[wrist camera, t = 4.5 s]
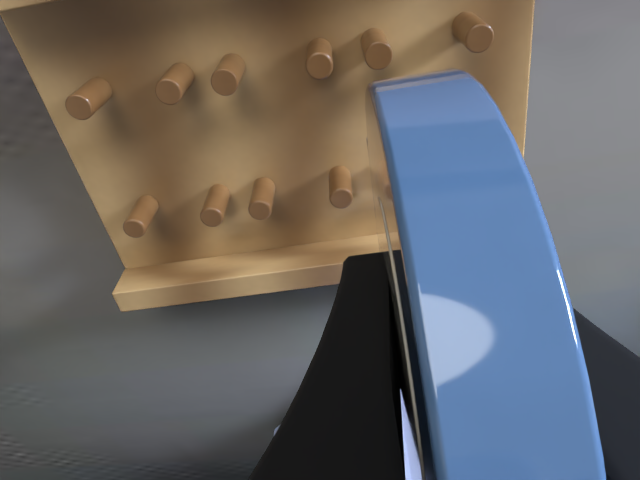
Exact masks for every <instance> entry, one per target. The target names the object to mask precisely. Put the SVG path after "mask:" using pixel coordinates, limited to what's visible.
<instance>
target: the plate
mask: <svg viewBox="0 0 640 480" xmlns="http://www.w3.org/2000/svg"><path fill="white" fill-rule="evenodd" d="M365 112H366V128H367V139H366V142H367V150H368V159H369V167H370V176H371V184H372V193H373V201H374V210H375V218H376V227H377V235H378V244H379V252H383V256H384V260H385V265H386V270H387V274H388V281H389V290H390V300H391V309H392V318H393V327H394V336H395V345H396V355H397V364H398V373H399V382H400V394H401V411H402V420H403V427H404V434H405V441H406V447H407V454H408V461H409V467H410V474H411V480H607V479H606V472H605V464H604V457H603V450H602V445H601V440H600V434H599V429H598V423H597V418H596V412H595V407H594V402H593V396H592V391H591V385H590V380H589V375H588V371H587V367H586V362H585V358H584V354H583V350H582V345H581V341H580V337H579V333H578V328H577V324H576V320H575V316H574V311H573V307H572V303H571V300H570V296H569V293H568V289H567V286H566V282H565V279H564V275H563V272H562V268H561V265H560V261H559V258H558V254H557V251H556V248H555V244H554V241H553V237H552V235H551V232H550V229H549V226H548V223H547V220H546V217H545V214H544V212H543V209H542V206H541V203H540V200H539V197H538V194H537V192H536V189H535V186H534V183H533V180H532V178H531V176H530V173H529V171H528V169H527V166H526V164H525V162H524V159H523V157H522V155H521V152H520V150H519V148H518V145H517V143H516V140H515V138H514V136H513V134H512V132H511V130H510V128H509V127H508V125H507V123H506V121H505V119H504V117H503V115H502V114H501V112H500V110H499V108H498V106H497V104H496V103H495V102H494V100H493V99H492V97H491V96H490V95H489V93H488V92H487V90H486V89H485V88H484V86H483V85H482V84H481V83H480V82H479V81H478V80H477V79H476V78H474V77H473V76H472V75H471V74H470V73H468V72H465V71H462V70H459V69H456V68H450V69H443V70H437V71H431V72H425V73H419V74H412V75H406V76H400V77H394V78H388V79H382V80H375V81H373V82H371V83H369V84H368V85H367V88H366V93H365Z"/></svg>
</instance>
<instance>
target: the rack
mask: <svg viewBox="0 0 640 480" xmlns="http://www.w3.org/2000/svg"><path fill="white" fill-rule="evenodd" d="M534 4H535V0H0V15H1V17H2V19H3V21H4V23H5V25H6V27H7V29H8V31H9V33H10V36H11V38H12V40H13V42H14V44H15V46H16V48H17V50H18V52H19V54H20V56H21V58H22V60H23V62H24V64H25V66H26V68H27V70H28V72H29V74H30V76H31V78H32V80H33V82H34V84H35V86H36V88H37V90H38V92H39V94H40V96H41V98H42V100H43V102H44V104H45V106H46V109H47V111H48V113H49V115H50V117H51V119H52V121H53V123H54V125H55V127H56V129H57V131H58V133H59V135H60V137H61V139H62V141H63V143H64V145H65V147H66V149H67V151H68V153H69V155H70V157H71V159H72V161H73V163H74V165H75V167H76V169H77V171H78V173H79V175H80V177H81V179H82V182H83V184H84V186H85V188H86V190H87V192H88V194H89V196H90V198H91V200H92V202H93V204H94V206H95V208H96V210H97V212H98V214H99V216H100V218H101V220H102V222H103V224H104V226H105V228H106V230H107V232H108V234H109V236H110V238H111V240H112V242H113V244H114V246H115V248H116V250H117V252H118V255H119V257H120V259H121V261H122V263H123V265H124V267H125V270H124V272H123V274H122V275H121V277H120V279H119V281H118V283H117V285H116V287H115V289H114V291H113V292H112V295H113V297H114V299H115V301H116V303H117V305H118V307H119V308H120V310H121V312H126V311H133V310H141V309H149V308H157V307H164V306H172V305H180V304H188V303H195V302H203V301H211V300H219V299H226V298H234V297H242V296H250V295H257V294H265V293H273V292H281V291H288V290H296V289H304V288H311V287H319V286H327V285H335V284H339V283H340V279H341V274H342V268H343V262H344V261H345V260H346V258H347V257H348V256H353V255H361V254H369V253H376V252H379V244H378V235H377V227H376V218H375V210H374V201H373V193H372V184H371V176H370V167H369V159H368V150H367V142H366V139H367V128H366V112H365V93H366V88H367V85H368V84H369V83H371V82H373V81H375V80H382V79H388V78H394V77H400V76H406V75H412V74H419V73H425V72H431V71H437V70H443V69H450V68H456V69H459V70H462V71H465V72H468V73H470V74H471V75H472V76H473V77H474V78H476V79H477V80H478V81H479V82H480V83H481V84H482V85H483V86H484V88H485V89H486V90H487V92H488V93H489V95H490V96H491V97H492V99H493V100H494V102H495V103H496V104H497V106H498V108H499V110H500V112H501V114H502V115H503V117H504V119H505V121H506V123H507V125H508V127H509V128H510V130H511V132H512V134H513V136H514V138H515V140H516V143H517V145H518V148H519V150H520V152H521V155H522V157H523V159H524V147H525V133H526V118H527V104H528V90H529V75H530V61H531V47H532V32H533V18H534Z"/></svg>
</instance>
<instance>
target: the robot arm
mask: <svg viewBox="0 0 640 480" xmlns="http://www.w3.org/2000/svg"><path fill="white" fill-rule="evenodd" d="M573 311H574V316H575V320H576V324H577V328H578V333H579V337H580V341H581V345H582V350H583V354H584V358H585V362H586V367H587V371H588V375H589V380H590V385H591V391H592V396H593V402H594V407H595V412H596V418H597V423H598V429H599V434H600V440H601V445H602V450H603V457H604V464H605V472H606V479H607V480H640V357H638V356H637V355H635V354H634V353H633V352H631V351H630V350H628V349H627V348H626V347H624V346H623V345H621V344H620V343H619V342H617V341H616V340H614V339H613V338H612V337H610V336H609V335H608V334H606V333H605V332H604V331H602V330H601V329H600V328H598V327H597V326H596V325H594V324H593V323H592V322H590V321H589V320H588V319H587V318H585V317H584V316H583V315H582V314H580V313H579V312H578V311H576V310H575V309H574V308H573ZM248 480H411V474H410V467H409V461H408V454H407V447H406V441H405V434H404V427H403V420H402V411H401V394H400V382H399V373H398V364H397V355H396V345H395V336H394V327H393V318H392V309H391V300H390V290H389V281H388V274H387V270H386V265H385V260H384V256H383V252H376V253H369V254H361V255H353V256H348V257H347V258H346V260H345V261H344V262H343V268H342V274H341V279H340V283H339V287H338V291H337V294H336V297H335V301H334V304H333V307H332V310H331V313H330V316H329V318H328V321H327V324H326V327H325V329H324V332H323V335H322V337H321V340H320V343H319V345H318V348H317V350H316V352H315V354H314V357H313V359H312V361H311V363H310V366H309V368H308V370H307V372H306V374H305V377H304V379H303V381H302V383H301V385H300V388H299V390H298V392H297V394H296V396H295V398H294V400H293V402H292V404H291V406H290V408H289V410H288V411H287V413H286V415H285V417H284V419H283V421H282V423H281V424H280V425H279V426H278V427H276V428H275V430H274V437H273V439H272V441H271V442H270V444H269V446H268V448H267V449H266V451H265V453H264V454H263V456H262V458H261V459H260V461H259V462H258V464H257V466H256V467H255V469H254V470H253V472H252V474H251V475H250V477H249V479H248Z"/></svg>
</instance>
